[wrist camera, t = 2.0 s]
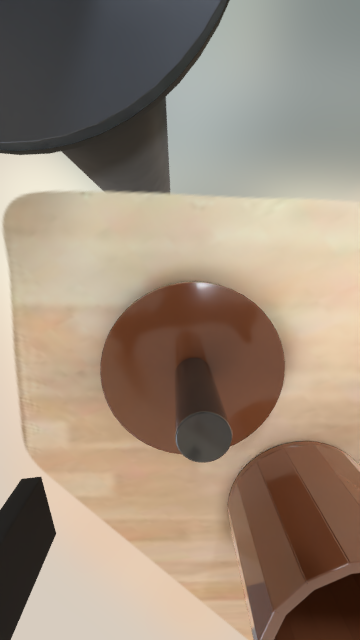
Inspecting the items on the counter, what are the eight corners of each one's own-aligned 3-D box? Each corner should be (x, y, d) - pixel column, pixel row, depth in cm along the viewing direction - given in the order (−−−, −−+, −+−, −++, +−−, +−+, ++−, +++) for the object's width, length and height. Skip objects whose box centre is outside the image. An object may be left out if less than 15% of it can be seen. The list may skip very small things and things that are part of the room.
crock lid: (88, 292, 20) (29, 317, 12) (275, 269, 20) (347, 278, 12) (120, 454, 24) (89, 565, 15) (282, 434, 23) (344, 535, 15)
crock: (221, 450, 24) (253, 574, 14) (369, 432, 24) (495, 545, 14) (233, 565, 26) (265, 730, 17) (365, 549, 26) (468, 707, 17)
